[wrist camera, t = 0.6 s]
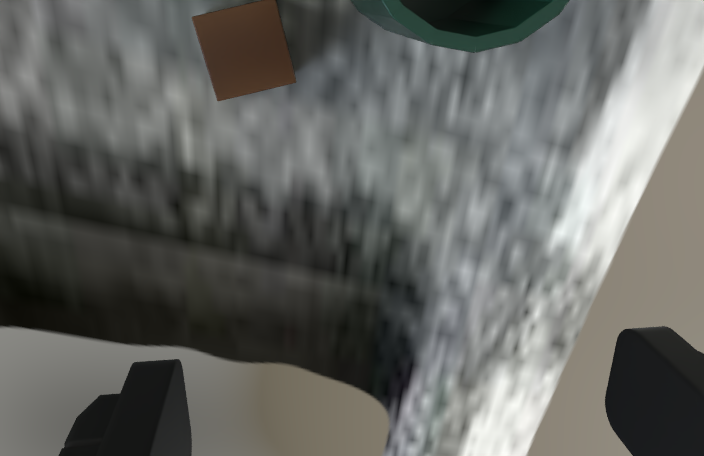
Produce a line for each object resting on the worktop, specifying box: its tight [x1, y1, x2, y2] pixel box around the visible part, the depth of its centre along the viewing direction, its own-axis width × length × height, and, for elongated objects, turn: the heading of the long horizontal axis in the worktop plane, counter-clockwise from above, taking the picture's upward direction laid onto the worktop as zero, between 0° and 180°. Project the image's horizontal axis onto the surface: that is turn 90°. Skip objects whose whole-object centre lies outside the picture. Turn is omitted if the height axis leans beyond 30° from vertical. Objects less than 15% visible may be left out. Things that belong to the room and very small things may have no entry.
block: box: [192, 0, 296, 101], centre depth 29 cm, size 4×4×4 cm
